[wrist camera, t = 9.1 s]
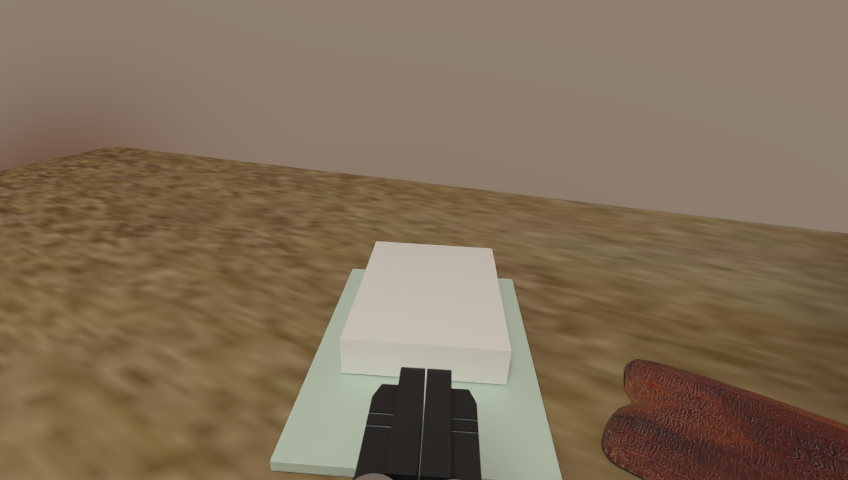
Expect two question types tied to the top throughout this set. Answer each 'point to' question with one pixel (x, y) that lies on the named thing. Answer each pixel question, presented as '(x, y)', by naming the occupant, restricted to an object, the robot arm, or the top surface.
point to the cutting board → (496, 406)
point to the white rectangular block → (428, 314)
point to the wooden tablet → (717, 431)
